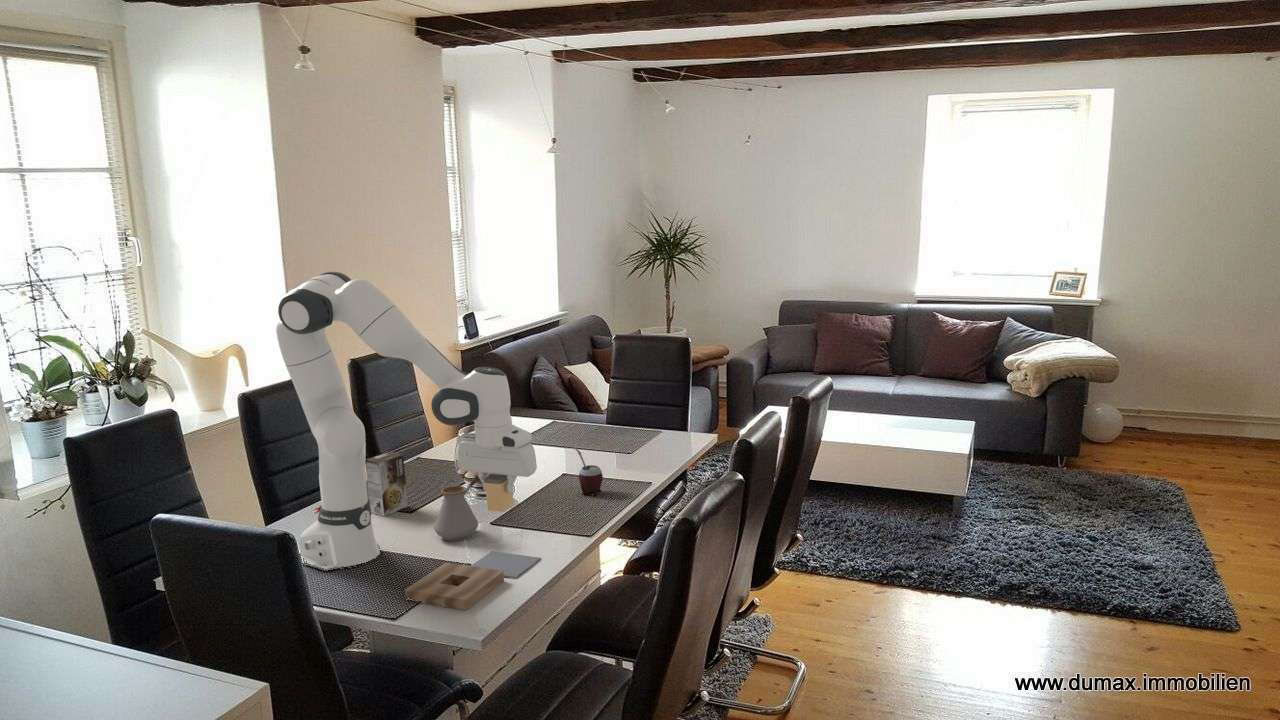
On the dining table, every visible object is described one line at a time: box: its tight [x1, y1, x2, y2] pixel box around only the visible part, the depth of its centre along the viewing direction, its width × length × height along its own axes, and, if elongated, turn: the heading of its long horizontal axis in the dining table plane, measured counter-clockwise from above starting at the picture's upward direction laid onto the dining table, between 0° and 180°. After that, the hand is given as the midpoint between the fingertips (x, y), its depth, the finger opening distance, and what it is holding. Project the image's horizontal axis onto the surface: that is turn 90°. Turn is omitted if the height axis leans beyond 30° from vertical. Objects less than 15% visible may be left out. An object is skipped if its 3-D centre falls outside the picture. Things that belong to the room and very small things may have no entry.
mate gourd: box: [570, 444, 604, 497], centre depth 274 cm, size 8×8×15 cm
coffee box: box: [365, 451, 409, 517], centre depth 267 cm, size 9×6×16 cm
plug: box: [484, 473, 515, 513], centre depth 222 cm, size 4×4×8 cm
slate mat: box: [470, 550, 542, 580], centre depth 226 cm, size 14×12×1 cm
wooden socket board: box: [404, 562, 505, 612], centre depth 212 cm, size 16×16×2 cm
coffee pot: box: [434, 473, 480, 542], centre depth 249 cm, size 21×12×15 cm, turn 153°
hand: (498, 490), depth 222 cm, fingers closed on plug, 4 cm apart
